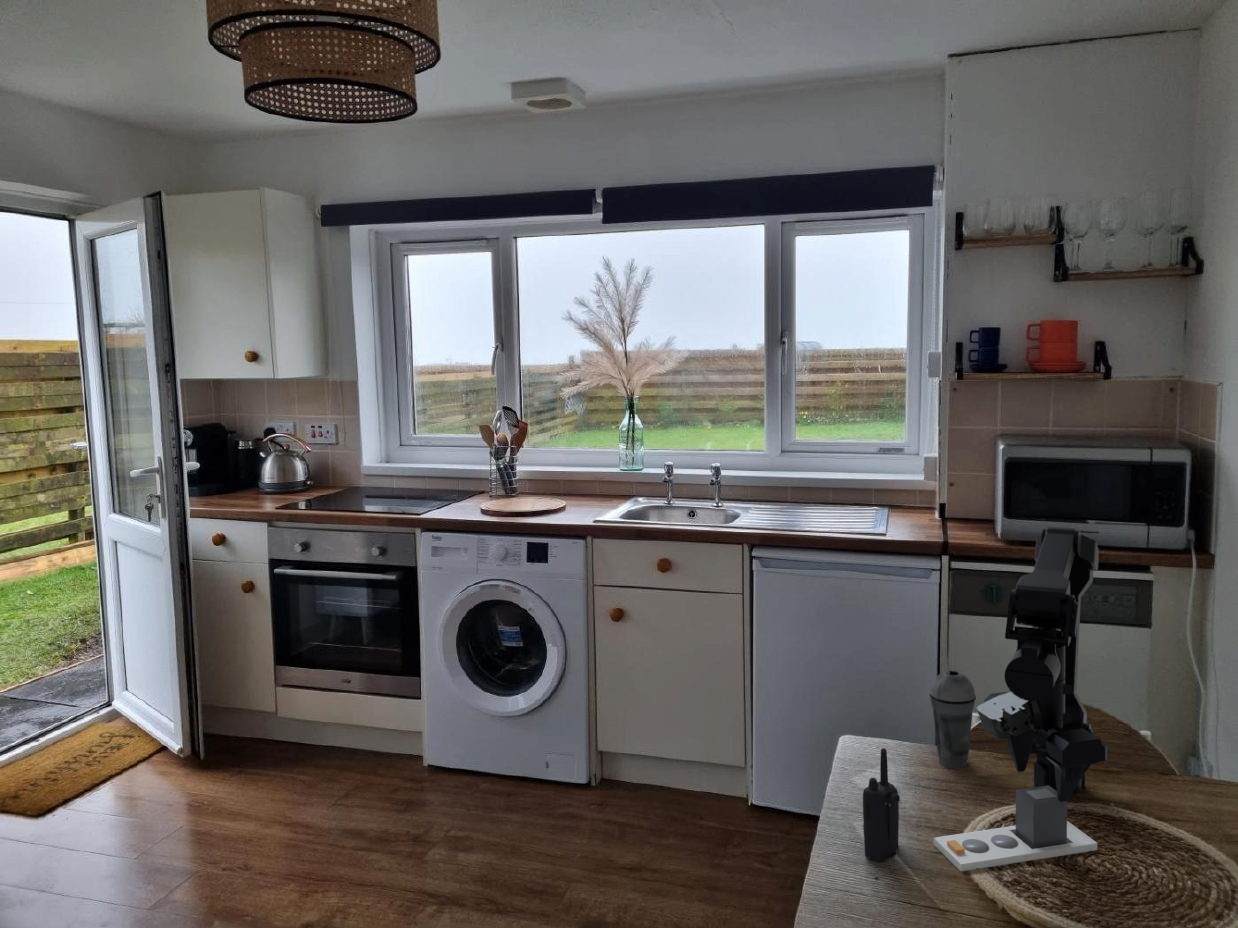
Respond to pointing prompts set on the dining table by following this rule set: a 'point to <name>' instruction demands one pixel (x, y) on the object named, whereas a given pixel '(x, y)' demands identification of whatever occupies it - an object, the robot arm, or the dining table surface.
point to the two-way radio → (881, 815)
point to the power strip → (1005, 847)
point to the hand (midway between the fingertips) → (1041, 785)
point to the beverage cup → (952, 715)
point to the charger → (1040, 817)
